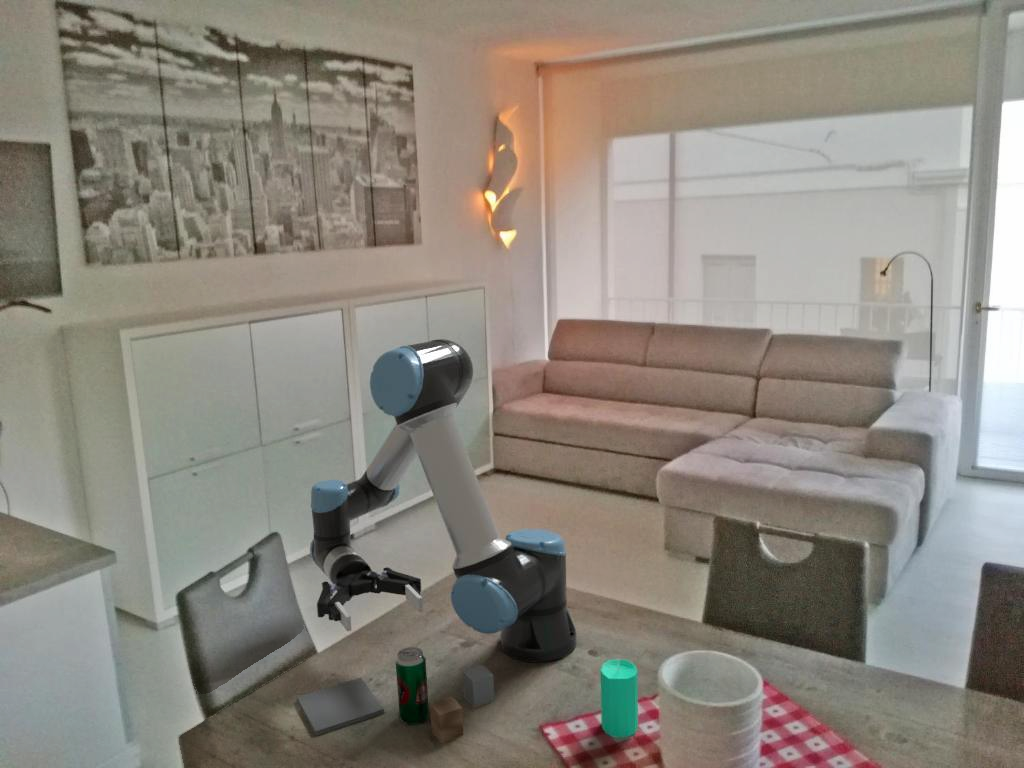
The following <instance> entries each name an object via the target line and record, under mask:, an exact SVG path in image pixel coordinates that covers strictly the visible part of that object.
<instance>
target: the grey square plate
mask: <svg viewBox="0 0 1024 768" xmlns="http://www.w3.org/2000/svg"><path fill="white" fill-rule="evenodd" d="M296 702H297V703H298V706H299V707H300V709H301V711H302V712H304V713H303V714H305V715H304V716H305V718H306V720H307V722H308V723H310V724H309V725H310V727H311V730H312V731H313V733H314V735H315V734H316V735H317V736H319V735H323V734H325V733H329V732H332V731H335V730H337V729H338V730H339V729H340V728H344V727H347V726H349V725H353V724H355V723H358V722H361V721H364V720H367V719H370V718H373V717H377V716H380V715H383V714H385V709H384V706H382V704H381V703H380V702H379V700H378V699H377V697H376V696H375V695H374V693H373V692H372V690H371V689H370V688H369V686H368V685H367V683H365V681H364V680H363V678H362V676H361V677H357V678H355V679H351V680H348V681H344V682H340V683H338V684H335V685H332V686H328V687H326V688H322V689H319V690H315V691H312V692H309V693H306V694H303V695H299V696H296ZM328 731H329V732H328ZM316 735H315V736H316Z"/></svg>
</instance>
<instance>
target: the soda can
mask: <svg viewBox="0 0 1024 768" xmlns="http://www.w3.org/2000/svg"><path fill="white" fill-rule="evenodd" d="M426 658H427V657H426V655H425V654H424V651H423V649H421V648H420V647H417V646H407V647H404V648H402V649H400V650H398V652H397V654H396V658H395V660H394V661H395V674H396V685H397V686H396V687H397V688H396V689H397V701H398V702H397V703H398V713H399V715H398V716H399V719H400V720H401V721H402V722H404V724H408V725H417V724H420V723H423V722H424V721H425V720H426V719H427V718H428V716H429V715H430V705H429V691H428V677H427V675H428V674H427V662H426Z"/></svg>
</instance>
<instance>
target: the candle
mask: <svg viewBox="0 0 1024 768" xmlns="http://www.w3.org/2000/svg"><path fill="white" fill-rule="evenodd" d="M638 676H639V675H638V669H637V667H636V665H635V664H634V663H633V662H632V661H630V660H628V659H609V660H608V661H606V662H604V663H603V664H602V666H601V667H600V705H601V706H600V708H601V709H600V712H601V713H600V714H601V715H600V718H601V728H602V731H603V730H604V731H605V732H604V731H603V732H604V733H605V734H607V735H608V734H609V736H610V737H615V738H627V737H628V738H630V737H631V736H633V735H634V734H636V733H637V730H638V728H639V721H638V720H639V710H638V709H639V708H638V707H639V706H638V705H639V701H638V700H639V698H638V697H639V694H638V691H639V690H638V688H639V687H638V684H639V683H638V678H639V677H638Z"/></svg>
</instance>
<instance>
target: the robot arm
mask: <svg viewBox="0 0 1024 768" xmlns="http://www.w3.org/2000/svg"><path fill="white" fill-rule="evenodd" d="M372 367H373V368H372V371H371V372H370V378H369V387H370V388H369V389H370V393H371V398H372V400H373V402H374V404H375V405H376V406H377V408H378V409H379V410H380V411H382V412H383V413H384V414H386V415H388V416H391V417H394V420H395V424H394V426H393V428H392V429H391V431H390V432H389V434H388V436H387V437H386V439H385V440H384V442H383V444H382V445H381V447H380V448H379V450H378V451H377V452H376V455H375V456H374V457H373V459H372V461H370V462H371V463H370V464H369V466H368V467H367V468H366V470H365V472H364V473H363V474H362V475H361V477H360V478H359V479H357V480H355V481H352V482H349V483H346V482H345V481H344V480H340V479H327V480H323V481H318V482H317V483H315V484H314V485H313V486H312V487H311V489H310V490H311V491H310V508H311V509H310V510H311V516H312V526H313V538H312V540H311V542H310V546H309V553H310V556H311V558H312V561H313V562H314V563H315V565H316V566H317V567H318V568H319V570H321V572H322V573H324V575H325V576H326V577H327V578H328V579H329V581H330V582H331V583H329V581H323V582H322V583H321V588H322V589H321V593H320V595H319V598H318V600H317V602H316V611H317V617H318V618H324V617H325V616H326V615H328V620H329V621H334V622H340V624H341V625H342V626H343V628H344V629H345V630H346V632H351V631H352V618H351V615H350V614H349V612H348V611H347V609H345V607H344V605H345V604H346V603H347V602H350V601H351V600H352V598H353V597H355V596H360V595H363V594H368V593H370V594H371V593H372V594H380V593H387V594H395V595H398V596H400V595H401V596H405V600H407V601H408V602H409V604H410V605H412V607H413V608H414V609H416V610H417V612H418V613H421V612H423V611H424V607H423V603H424V602H423V596H421V592H422V580H421V578H419V577H415V576H413V575H409V574H405V573H402V572H399V571H396V570H393V569H391V568H390V567H383V572H378V573H377V571H373V570H372V569H371V566H370V565H369V564H368V563H367V562H366V560H365V559H363V557H362V556H361V555H360V554H359V553H358V552H356V550H355V549H354V548H353V547H352V544H351V543H352V542H351V521H353V520H355V519H358V518H359V517H361V516H364V515H366V514H369V513H371V512H374V511H375V510H378V509H380V508H384V507H386V506H388V505H389V504H390V503H393V502H394V501H395V500H396V499H397V498H398V497H399V494H400V486H401V485H400V482H401V480H402V479H403V477H404V476H405V474H406V473H407V472H408V470H409V469H410V467H411V466H412V464H413V463H414V461H415V460H416V458H417V457H418V458H419V462H420V464H421V467H422V469H423V472H424V474H425V477H426V480H427V482H428V484H429V487H430V490H431V492H432V495H433V497H434V500H435V503H436V505H437V508H438V511H439V513H440V516H441V518H442V520H443V521H442V522H443V523H444V526H445V529H446V531H447V534H448V536H449V540H450V542H451V544H452V548H453V549H454V550H453V551H454V552H455V558H454V560H453V562H452V564H451V568H452V569H453V572H454V575H455V578H456V580H455V582H454V583H453V585H452V587H451V590H452V591H451V592H450V599H451V605H452V607H453V610H454V612H455V613H456V615H457V616H458V618H459V619H460V620H461V621H462V623H464V624H465V626H467V627H468V628H472V629H473V630H474V631H476V632H479V633H481V634H487V635H488V634H489V635H490V634H495V633H496V634H497V633H499V632H500V631H501V632H500V646H501V649H502V651H503V652H504V653H505V654H506V655H508V656H509V657H511V658H513V659H515V660H519V661H522V662H523V661H524V662H529V663H530V662H531V663H545V662H552V661H556V660H559V659H562V658H564V657H566V656H568V655H570V654H571V653H573V651H574V650H575V648H577V631H576V627H575V624H574V621H573V619H572V617H571V614H570V612H569V611H570V610H569V608H568V605H567V604H568V603H567V552H566V544H565V540H564V539H563V537H562V536H561V535H560V534H558V533H556V532H553V531H550V530H544V529H537V528H536V529H535V528H533V529H532V528H527V529H526V528H525V529H517V530H514V531H513V530H512V531H510V532H509V533H508V534H506V536H505V538H502V537H501V536H500V534H499V532H498V531H499V530H498V528H497V526H496V523H495V520H494V518H493V516H492V513H491V511H490V508H489V505H488V503H487V501H486V498H485V495H484V493H483V492H484V491H483V489H482V487H481V485H480V482H479V479H478V477H477V475H476V472H475V469H474V467H473V465H472V461H471V459H470V457H469V454H468V451H467V449H466V447H465V445H464V442H463V439H462V436H461V433H460V431H459V429H458V425H457V423H456V421H455V418H454V413H455V410H456V409H457V407H458V406H459V404H460V403H461V402H462V400H463V398H464V396H465V395H466V394H467V392H468V391H469V389H470V387H471V384H472V382H473V381H472V380H473V377H474V366H473V362H472V360H471V357H470V355H469V353H468V352H467V351H466V350H465V349H464V348H463V346H461V345H460V344H458V343H456V342H455V341H452V340H450V339H445V338H444V339H440V338H438V339H432V340H430V341H425V342H421V343H420V342H419V343H413V344H408V345H402V346H400V347H396V348H394V349H391V350H389V351H386V352H384V353H383V354H382V355H381V354H380V356H379V357H378V358H377V359H376V361H375V362H374V364H373V366H372ZM335 591H336V593H335ZM334 593H335V594H334Z"/></svg>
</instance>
